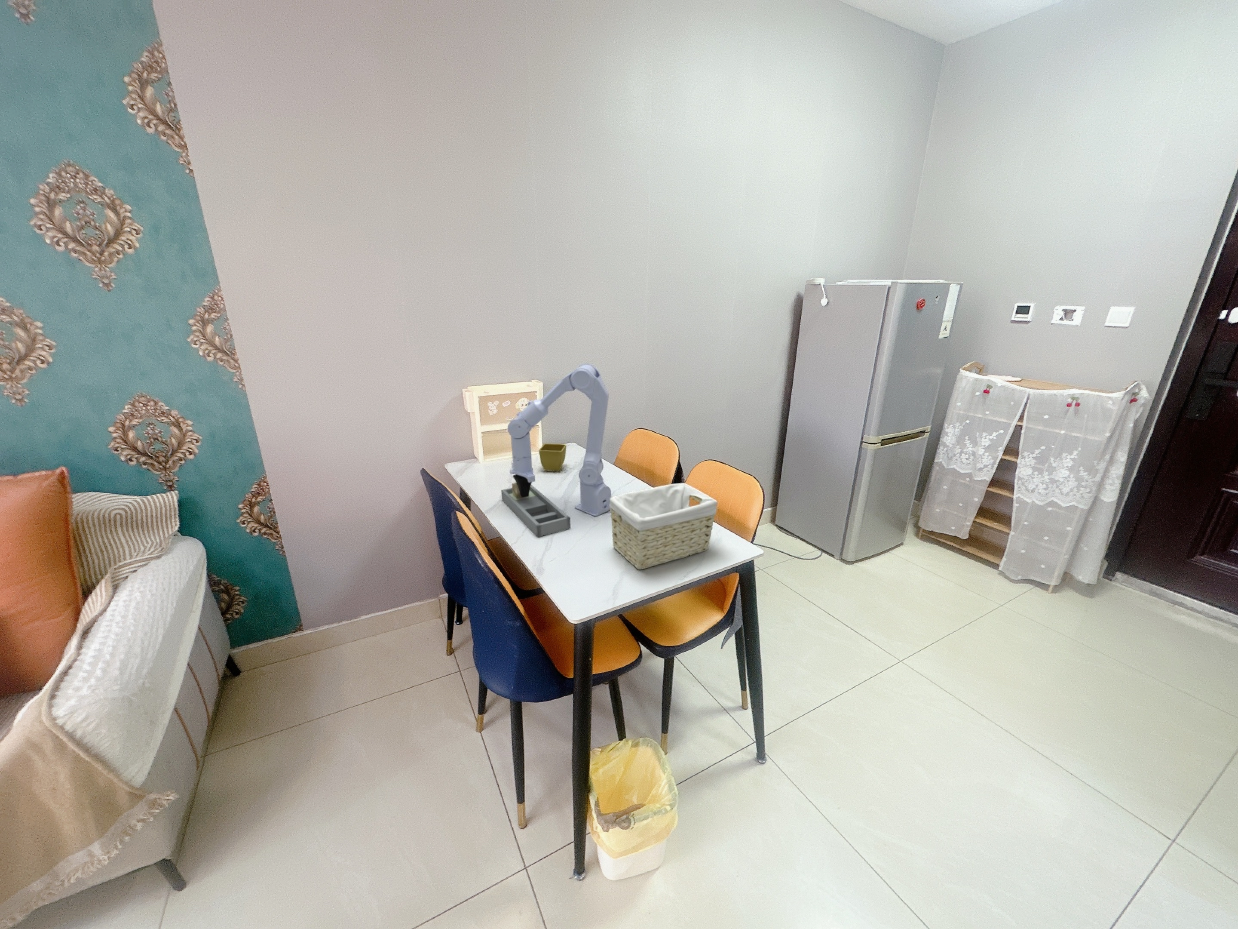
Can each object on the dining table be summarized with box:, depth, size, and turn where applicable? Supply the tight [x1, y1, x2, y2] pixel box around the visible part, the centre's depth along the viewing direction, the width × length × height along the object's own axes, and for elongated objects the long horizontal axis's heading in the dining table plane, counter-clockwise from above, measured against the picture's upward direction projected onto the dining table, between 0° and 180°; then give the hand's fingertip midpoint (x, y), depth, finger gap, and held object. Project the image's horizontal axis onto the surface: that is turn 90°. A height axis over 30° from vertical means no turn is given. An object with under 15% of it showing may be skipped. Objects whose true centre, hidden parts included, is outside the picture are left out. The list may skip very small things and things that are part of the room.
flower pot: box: [538, 443, 567, 473], centre depth 183 cm, size 9×9×9 cm
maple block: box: [511, 482, 529, 499], centre depth 155 cm, size 4×4×4 cm
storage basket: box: [609, 482, 718, 570], centre depth 125 cm, size 24×16×15 cm
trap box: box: [500, 484, 571, 538], centre depth 147 cm, size 30×10×4 cm, turn 32°
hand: (524, 496), depth 153 cm, fingers closed
